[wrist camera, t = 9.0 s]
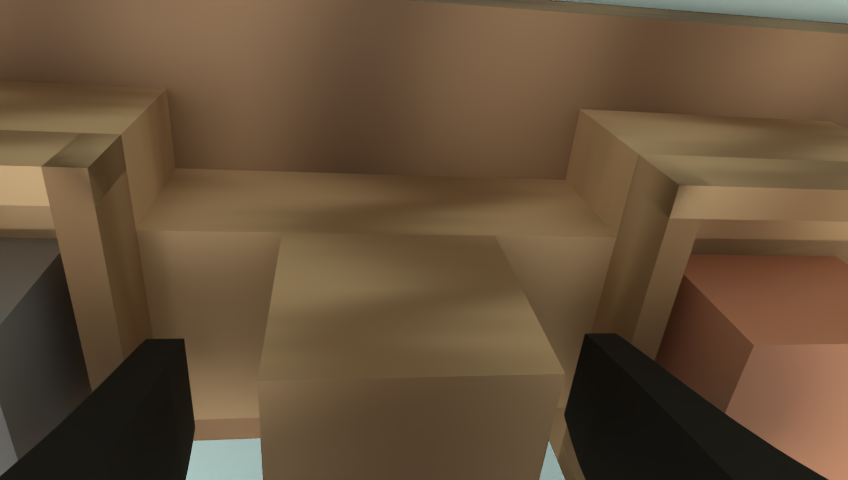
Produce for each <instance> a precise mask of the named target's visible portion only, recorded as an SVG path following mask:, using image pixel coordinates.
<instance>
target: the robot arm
mask: <svg viewBox="0 0 848 480" xmlns="http://www.w3.org/2000/svg"><path fill="white" fill-rule="evenodd" d="M564 417H565V421H566V424H567V428H568V431H569V435H570V438H571V442H572V445H573V448H574V451H575V454H576V457H577V460H578V463H579V466H580V468H581V470H582V473H583V475H584V477H585V480H828V479H827V478H825V477H823V476H822V475H820V474H818V473H816V472H815V471H813V470H811V469H810V468H808V467H806V466H805V465H803V464H801V463H799V462H798V461H796V460H794V459H793V458H791V457H790V456H788V455H786V454H785V453H783V452H782V451H780V450H778V449H777V448H775V447H774V446H772V445H771V444H769V443H768V442H766V441H765V440H763V439H762V438H760V437H759V436H757V435H756V434H754V433H753V432H751V431H750V430H748V429H747V428H745V427H744V426H742V425H741V424H739V423H738V422H736V421H735V420H734V419H732V418H731V417H729V416H728V415H727V414H725V413H724V412H722V411H721V410H719V409H718V408H717V407H715V406H714V405H712V404H711V403H710V402H708V401H707V400H706V399H704V398H703V397H702V396H700V395H699V394H697V393H696V392H695V391H693V390H692V389H691V388H689V387H688V386H687V385H685V384H684V383H683V382H681V381H680V380H679V379H677V378H676V377H675V376H673V375H672V374H671V373H669V372H668V371H667V370H665V369H664V368H663V367H661V366H660V365H659V364H657V363H656V362H655V361H653V360H652V359H651V358H650V357H648V356H647V355H645V354H644V353H643V352H641V351H640V350H639V349H637V348H636V347H635V346H633V345H632V344H630V343H629V342H628V341H626V340H625V339H623V338H622V337H620V336H619V335H617V334H616V333H591V334H585V335H584V339H583V343H582V347H581V350H580V354H579V358H578V362H577V366H576V370H575V374H574V377H573V381H572V385H571V389H570V393H569V397H568V401H567V404H566V408H565V412H564ZM194 433H195V421H194V413H193V405H192V397H191V389H190V381H189V373H188V365H187V357H186V349H185V341H184V338H180V339H146V340H145V341H143V342H142V343H141V344H140V345H139V346H138V347H137V348H136V349H135V350H134V351H133V352H132V353H131V354H130V355H129V356H128V357H127V358H126V359H125V360H124V361H123V362H122V363H121V364H120V365H119V366H118V367H117V368H116V369H115V370H114V371H113V372H112V373H111V374H110V375H109V376H108V377H107V378H106V379H105V380H104V381H103V382H102V383H101V384H100V385H99V386H98V387H97V388H96V389H95V390H94V391H93V392H92V393H91V394H90V395H89V396H88V397H87V398H86V399H85V400H84V401H83V402H82V403H81V404H80V405H79V406H78V407H76V408H75V409H74V410H73V411H72V412H71V413H70V414H69V415H68V416H67V417H66V418H65V419H64V420H63V421H62V422H61V423H60V424H59V425H58V426H57V427H55V428H54V429H53V430H52V431H51V432H50V433H49V434H48V435H47V436H46V437H45V438H43V439H42V440H41V441H40V442H39V443H38V444H37V445H35V446H34V447H33V448H32V449H31V450H30V451H29V452H27V453H26V454H25V455H24V456H23V457H22V458H20V459H19V460H18V461H17V462H16V463H15V464H14V465H12V466H11V467H10V468H9V469H8V470H7V471H6V472H4V473H3V474H2V475H1V476H0V480H186V475H187V470H188V465H189V460H190V455H191V449H192V444H193V438H194Z"/></svg>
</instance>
